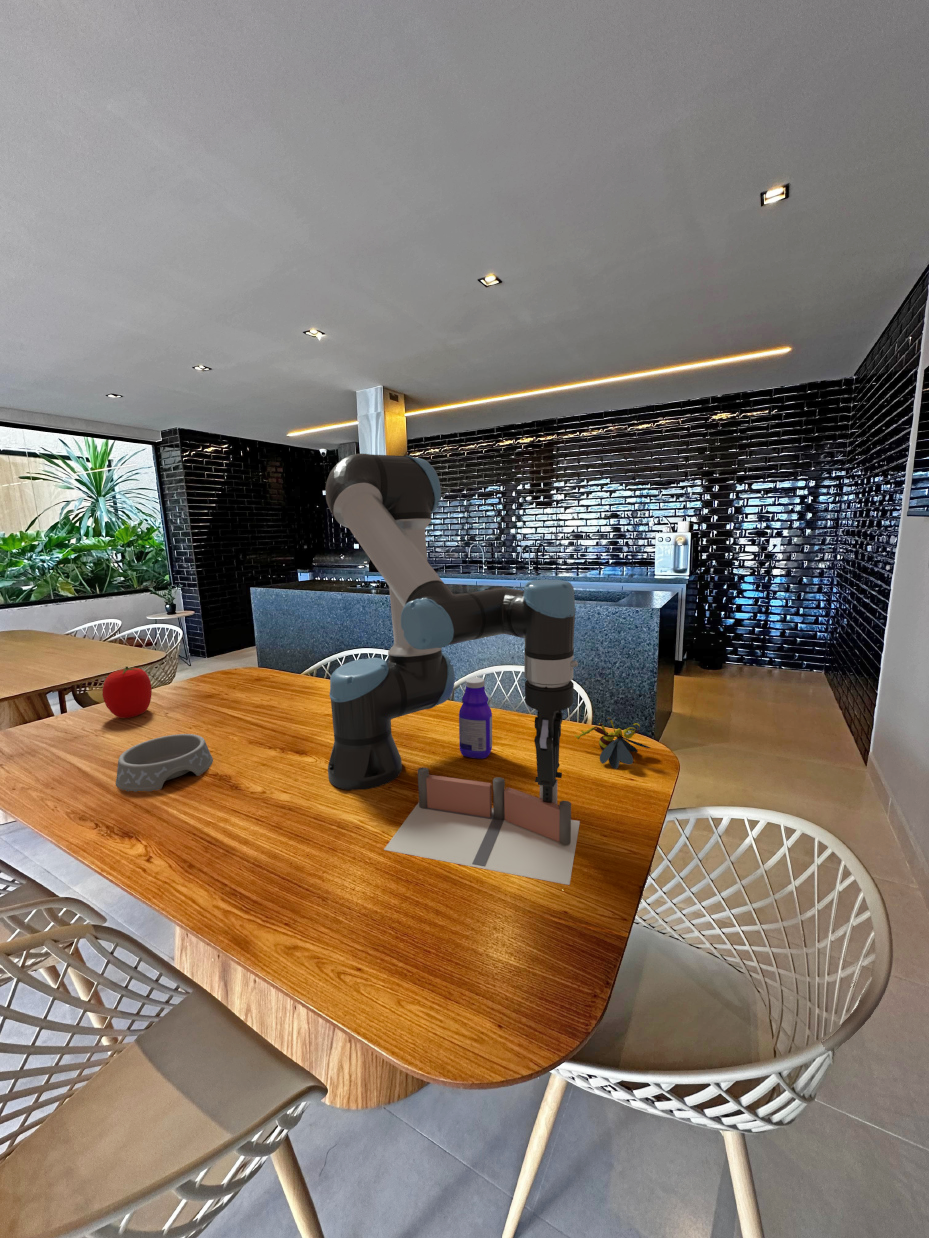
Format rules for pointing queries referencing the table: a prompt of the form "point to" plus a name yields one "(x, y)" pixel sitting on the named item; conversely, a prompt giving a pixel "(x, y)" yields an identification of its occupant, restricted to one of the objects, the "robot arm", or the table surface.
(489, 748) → the bottle
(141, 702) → the tomato
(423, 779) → the fence fixed
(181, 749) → the dog bowl
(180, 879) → the table surface
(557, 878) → the card
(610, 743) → the toy
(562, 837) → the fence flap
